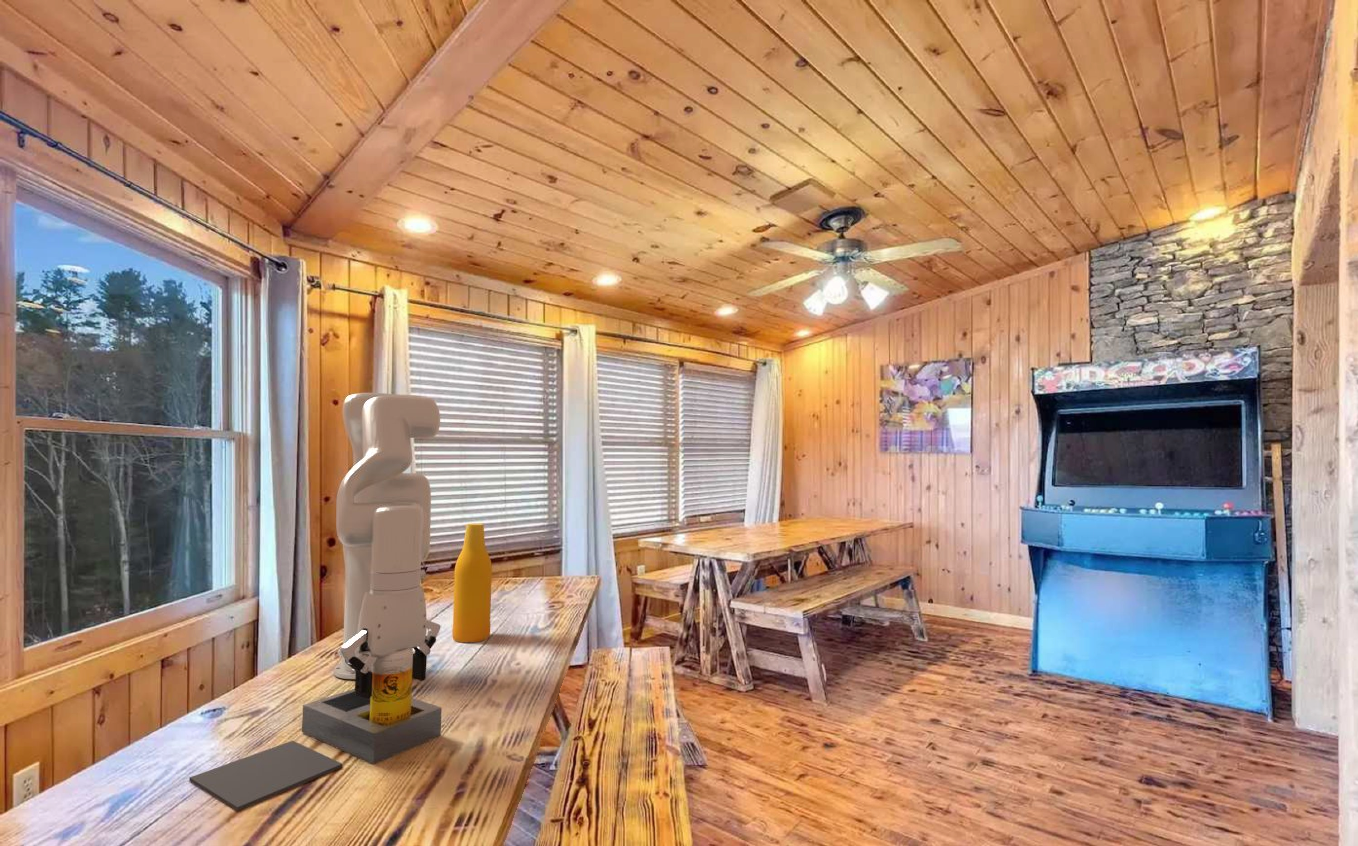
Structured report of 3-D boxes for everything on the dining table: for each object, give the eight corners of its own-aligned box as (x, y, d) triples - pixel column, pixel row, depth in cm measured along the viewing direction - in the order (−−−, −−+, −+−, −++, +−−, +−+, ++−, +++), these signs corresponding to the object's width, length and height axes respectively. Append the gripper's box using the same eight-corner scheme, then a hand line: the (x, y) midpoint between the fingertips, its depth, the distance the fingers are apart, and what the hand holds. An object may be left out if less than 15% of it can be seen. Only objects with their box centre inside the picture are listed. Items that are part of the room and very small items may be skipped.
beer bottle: (483, 643, 157) (487, 526, 158) (446, 642, 157) (450, 525, 158) (494, 633, 166) (498, 522, 167) (459, 632, 166) (463, 522, 168)
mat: (189, 780, 89) (189, 777, 89) (292, 743, 101) (292, 740, 101) (237, 810, 82) (237, 806, 82) (342, 766, 94) (342, 763, 94)
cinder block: (301, 732, 105) (303, 704, 105) (369, 708, 115) (370, 683, 116) (373, 764, 95) (374, 733, 95) (440, 734, 105) (441, 707, 105)
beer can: (369, 752, 98) (373, 655, 99) (368, 737, 104) (372, 644, 105) (411, 745, 101) (414, 650, 102) (408, 730, 107) (411, 640, 107)
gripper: (426, 571, 113) (423, 669, 112) (331, 586, 98) (326, 699, 97) (454, 575, 109) (451, 676, 108) (359, 592, 95) (354, 709, 93)
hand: (391, 687), depth 103 cm, fingers open, 9 cm apart
